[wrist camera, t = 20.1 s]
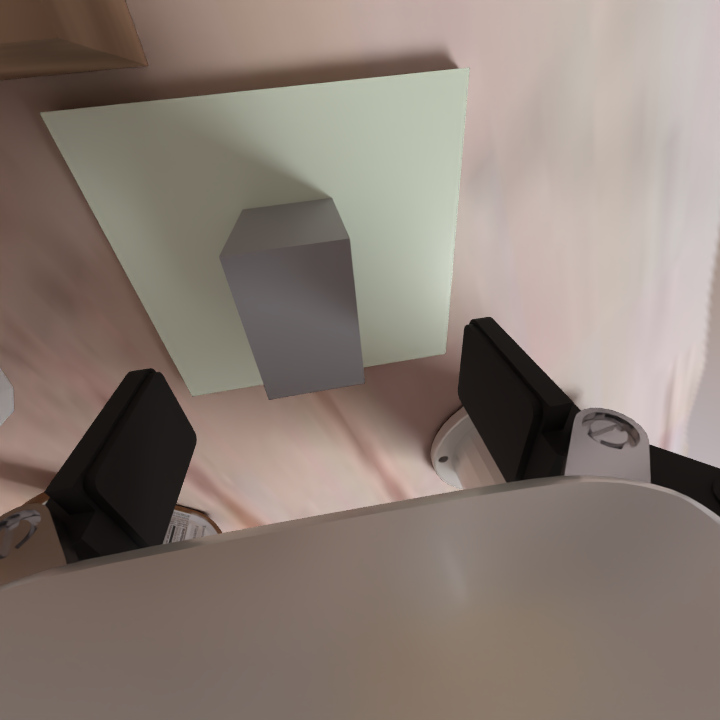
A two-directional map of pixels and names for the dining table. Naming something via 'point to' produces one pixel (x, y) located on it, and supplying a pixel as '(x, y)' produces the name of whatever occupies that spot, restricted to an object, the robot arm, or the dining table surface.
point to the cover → (282, 223)
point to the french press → (5, 398)
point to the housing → (66, 37)
